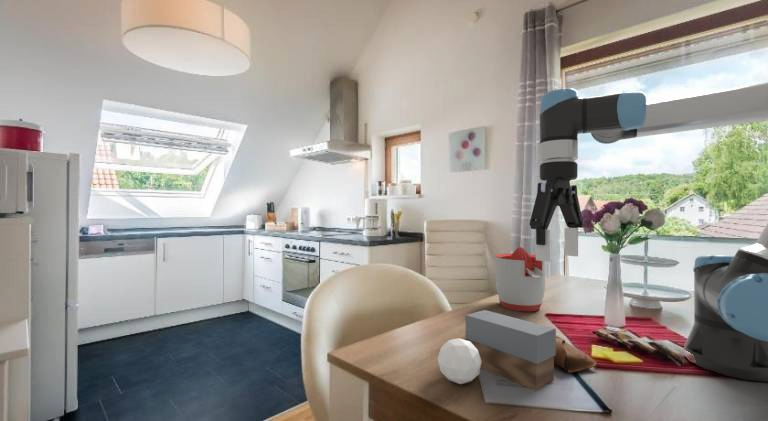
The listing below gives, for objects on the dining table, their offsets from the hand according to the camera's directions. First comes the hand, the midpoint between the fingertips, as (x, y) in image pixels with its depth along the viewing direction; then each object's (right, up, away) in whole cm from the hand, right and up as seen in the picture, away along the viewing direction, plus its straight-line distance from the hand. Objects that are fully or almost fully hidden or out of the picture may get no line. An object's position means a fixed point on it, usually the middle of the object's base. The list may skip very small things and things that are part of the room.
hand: (557, 258), depth 80 cm
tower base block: (-14, -22, -8) cm, 27 cm away
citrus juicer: (+6, -22, +38) cm, 44 cm away
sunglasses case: (0, -22, 0) cm, 22 cm away
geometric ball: (-24, -21, -13) cm, 35 cm away
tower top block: (-14, -17, -8) cm, 23 cm away
